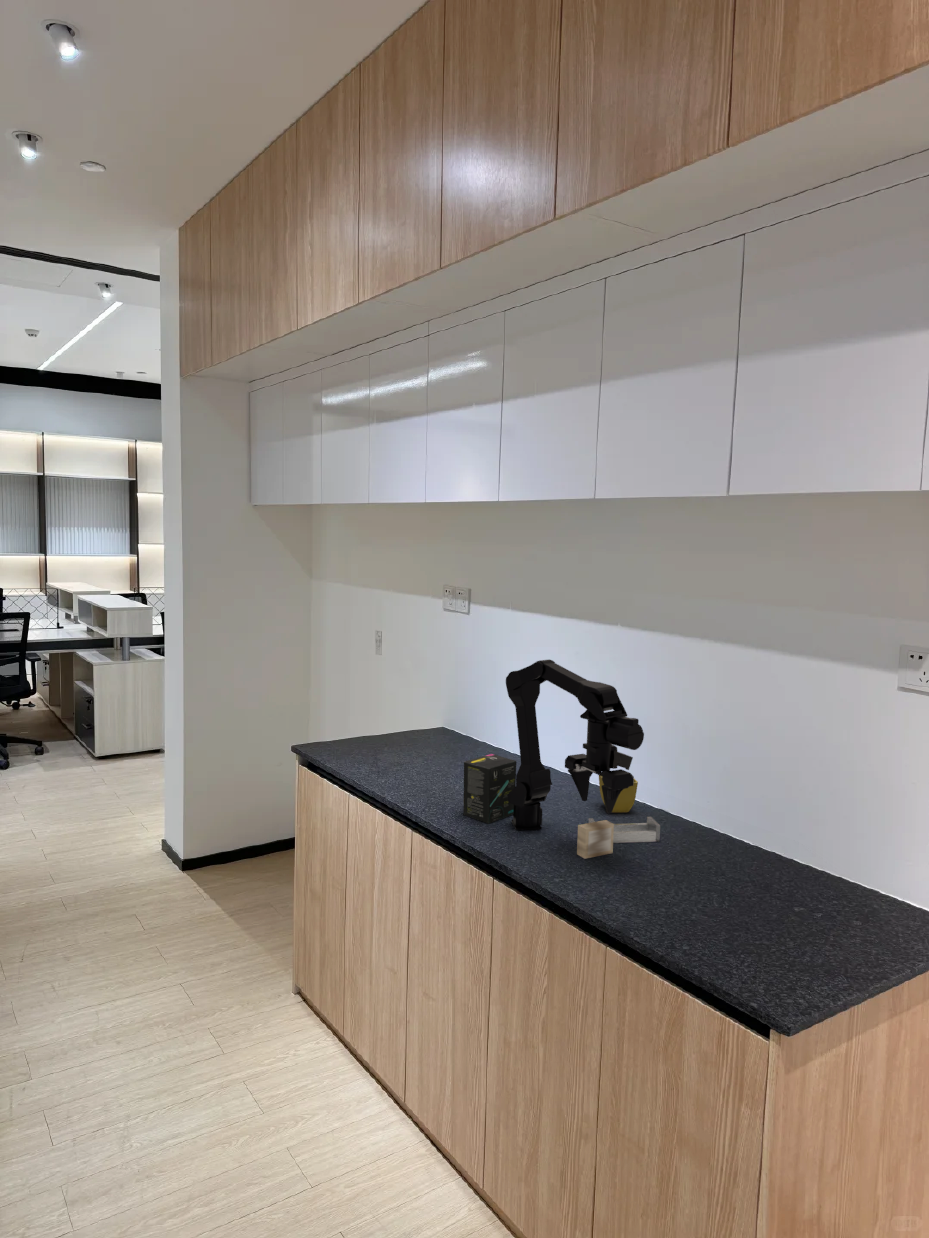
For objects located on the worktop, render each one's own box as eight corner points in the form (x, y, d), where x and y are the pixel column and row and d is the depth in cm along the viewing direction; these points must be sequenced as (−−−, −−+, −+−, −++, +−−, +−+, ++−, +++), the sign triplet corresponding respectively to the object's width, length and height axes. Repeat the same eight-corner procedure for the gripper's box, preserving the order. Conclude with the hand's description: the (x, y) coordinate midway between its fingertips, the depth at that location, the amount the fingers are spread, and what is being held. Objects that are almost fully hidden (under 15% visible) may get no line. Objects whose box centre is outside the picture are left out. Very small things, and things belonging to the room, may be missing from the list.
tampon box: (489, 805, 224) (491, 752, 223) (515, 814, 218) (517, 759, 216) (461, 815, 216) (462, 760, 215) (487, 824, 210) (489, 767, 208)
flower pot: (596, 804, 227) (598, 772, 226) (628, 804, 228) (629, 772, 227) (604, 815, 218) (605, 782, 217) (637, 815, 219) (638, 782, 218)
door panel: (585, 859, 189) (586, 829, 188) (576, 854, 192) (577, 824, 191) (613, 853, 193) (614, 824, 192) (604, 848, 196) (605, 819, 195)
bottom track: (595, 843, 198) (596, 827, 198) (588, 834, 205) (588, 818, 204) (659, 841, 201) (660, 825, 200) (650, 832, 207) (650, 816, 206)
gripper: (654, 746, 185) (650, 814, 187) (602, 728, 202) (599, 790, 203) (614, 751, 180) (611, 821, 182) (564, 732, 196) (562, 796, 198)
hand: (596, 806), depth 191 cm, fingers open, 9 cm apart
